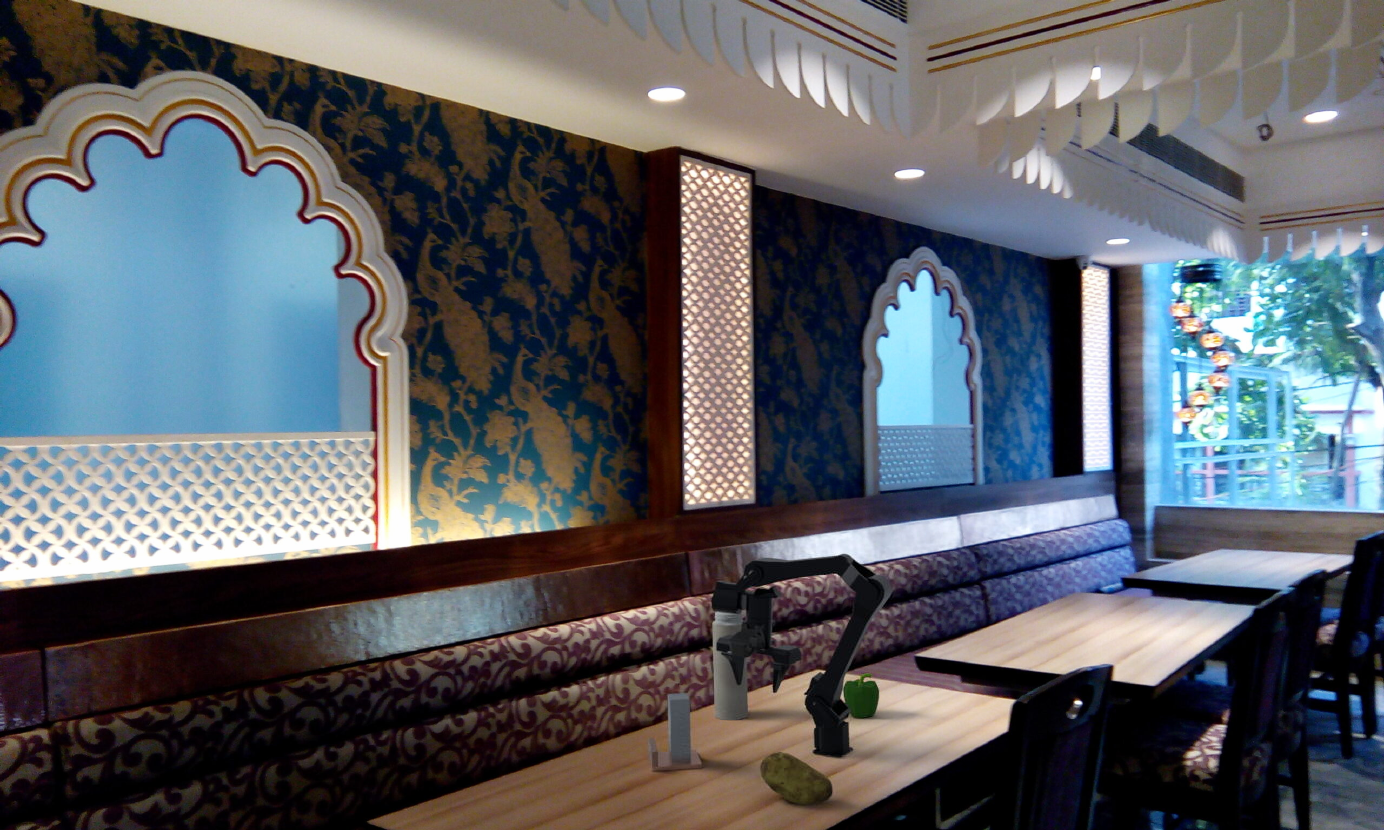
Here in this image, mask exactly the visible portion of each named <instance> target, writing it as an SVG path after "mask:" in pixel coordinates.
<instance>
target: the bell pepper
mask: <svg viewBox="0 0 1384 830" xmlns="http://www.w3.org/2000/svg"><path fill="white" fill-rule="evenodd" d="M872 676H873V675H872V673H869V672H867V673H863V674H862V675H861V676H860V677H859V678H857V679H855V680H846V681H845V683H844V684H843V690H842V693H843V694H842V695H843V699H844V700H843V701H844V702H845V704H846V705H847V706H848V707H849V708H850V709H851V711H850V714H849V715H850V716H852V717H853V718H858V719H860V718H861V719H862V718H867V717H873V716H875V714H876V712H877V709H878V705H879V699H880V688H879V686H878V684H877V682H876V680H866V681H864V680H865V679H866V678H870V679H871V678H872Z"/></svg>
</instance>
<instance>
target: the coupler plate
mask: <svg viewBox="0 0 1384 830" xmlns="http://www.w3.org/2000/svg"><path fill="white" fill-rule="evenodd" d="M647 739H648V740H647V741H648V743H647V744H648V759H649V764H650V766H651V767H650V768H651V771H652V772H659V771H660V772H661V771H664V772H665V771H676V770H692V769H702V768H703V763H702V761H701V758H700V756H699V753H698V752H697V749H691V761H681V762H671V759H670V756H669V750H666V751H664V750H663V751H658V746H657V743H656V740H655V737H648V738H647Z"/></svg>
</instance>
